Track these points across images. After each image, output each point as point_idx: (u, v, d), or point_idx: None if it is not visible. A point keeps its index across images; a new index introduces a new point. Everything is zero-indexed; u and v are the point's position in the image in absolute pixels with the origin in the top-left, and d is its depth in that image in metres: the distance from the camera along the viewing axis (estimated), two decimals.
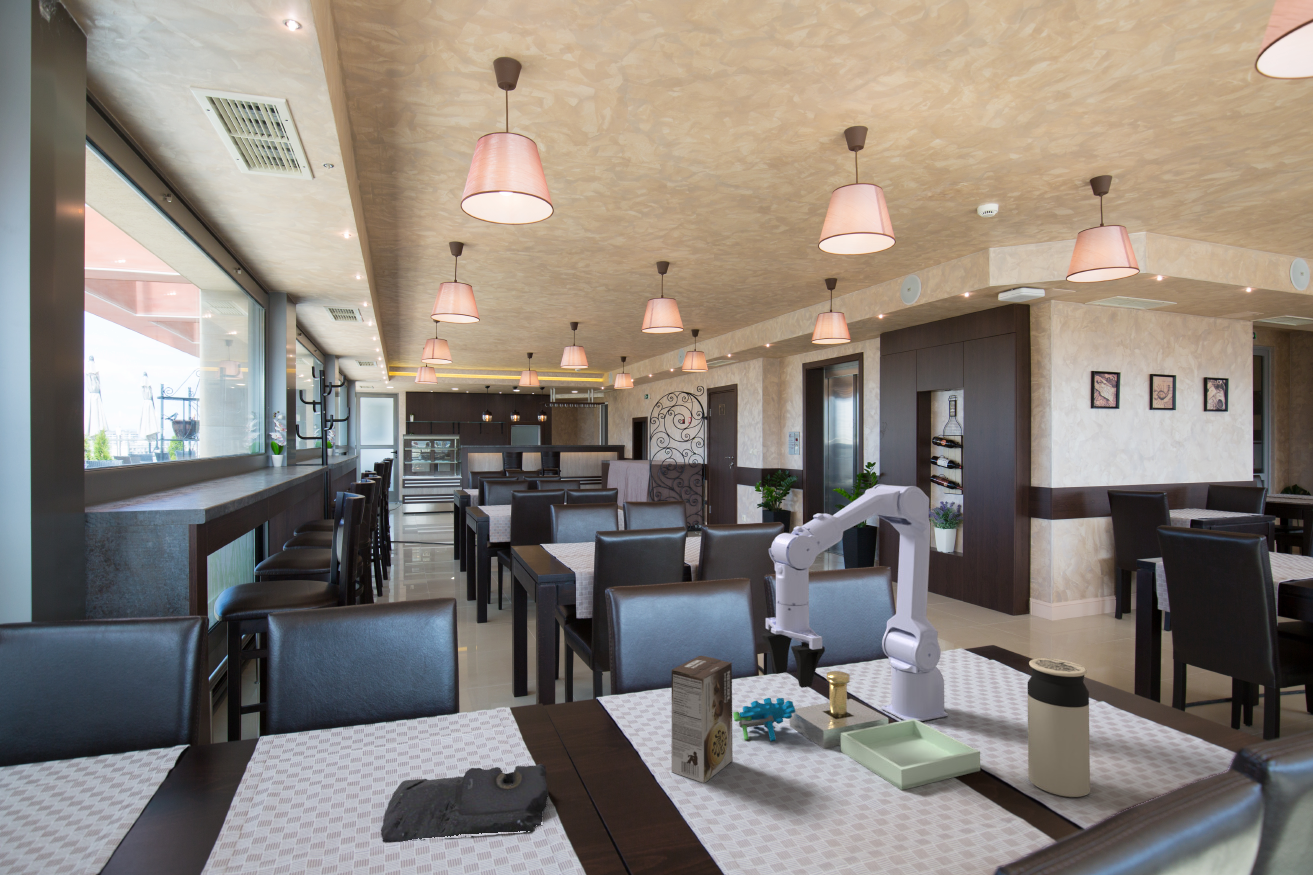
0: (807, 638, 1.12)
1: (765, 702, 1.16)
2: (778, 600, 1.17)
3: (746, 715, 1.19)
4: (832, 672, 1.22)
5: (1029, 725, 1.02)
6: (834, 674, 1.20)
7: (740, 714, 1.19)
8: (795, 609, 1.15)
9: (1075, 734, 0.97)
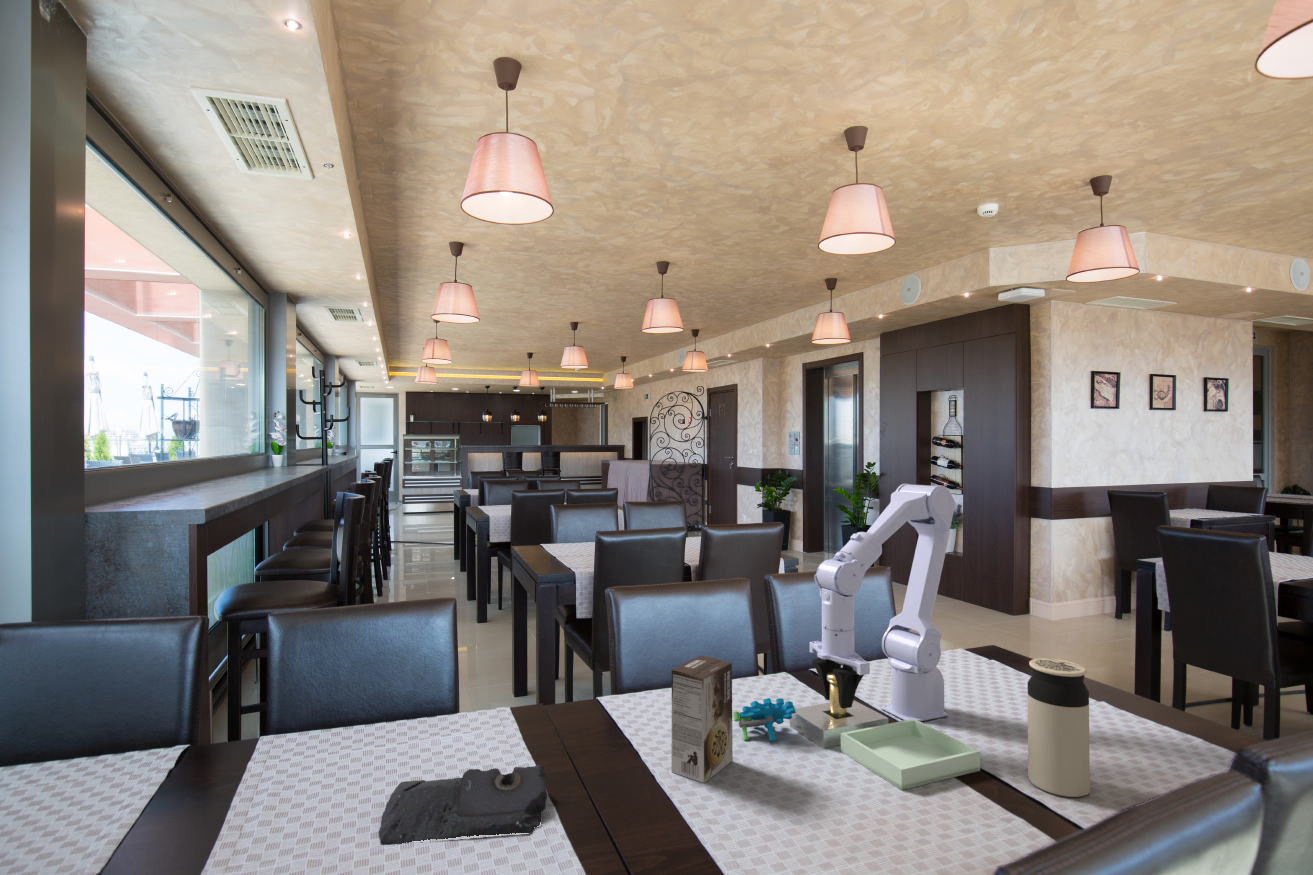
0: (855, 664, 1.15)
1: (765, 702, 1.15)
2: (825, 626, 1.20)
3: (746, 715, 1.18)
4: (832, 672, 1.22)
5: (1029, 725, 1.02)
6: None
7: (740, 714, 1.19)
8: (842, 635, 1.18)
9: (1075, 734, 0.97)
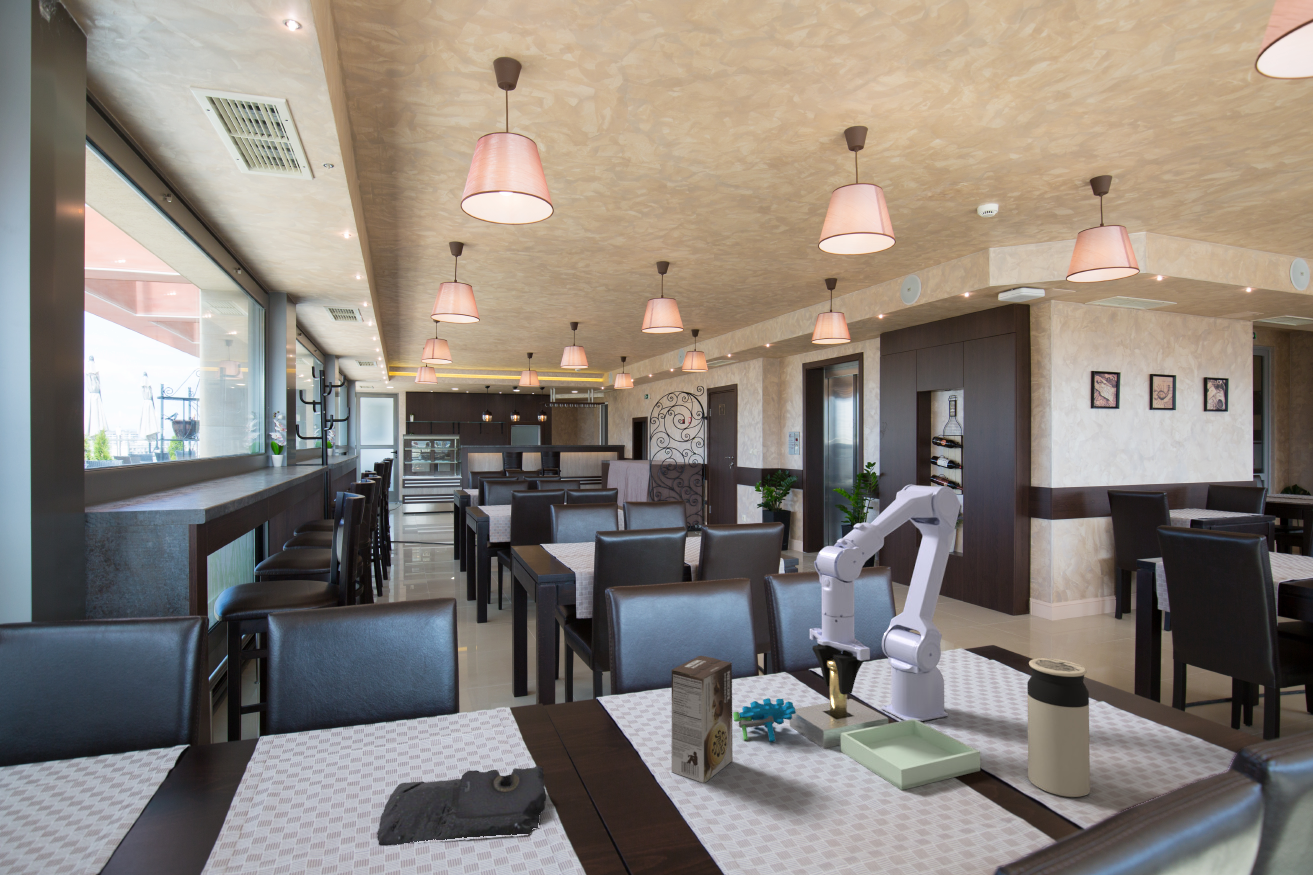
0: (855, 649, 1.15)
1: (764, 702, 1.15)
2: (825, 612, 1.20)
3: (746, 715, 1.18)
4: (832, 658, 1.22)
5: (1029, 725, 1.02)
6: None
7: (740, 714, 1.19)
8: (842, 621, 1.18)
9: (1074, 734, 0.97)
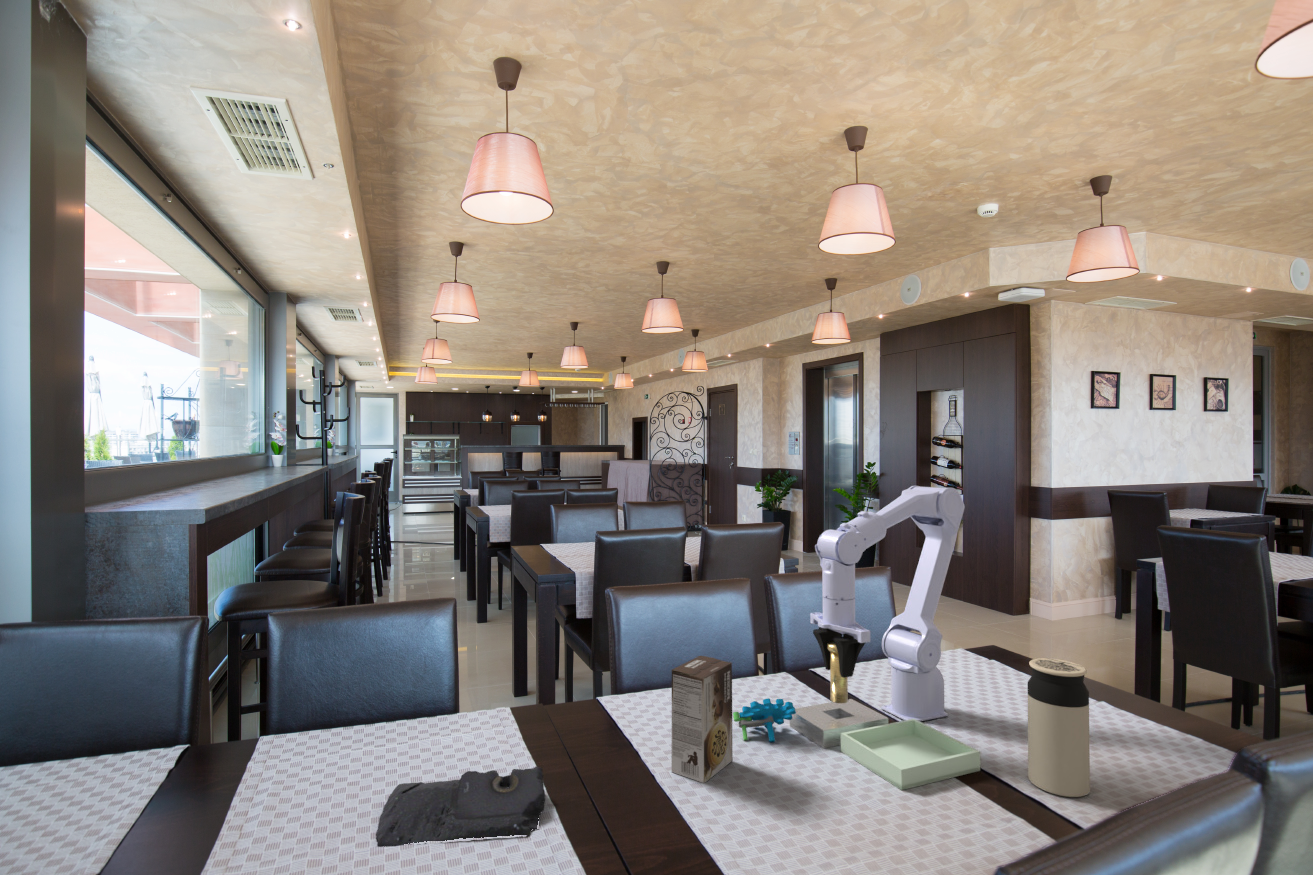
0: (855, 632, 1.15)
1: (764, 703, 1.15)
2: (826, 595, 1.20)
3: (746, 715, 1.18)
4: (833, 642, 1.22)
5: (1029, 725, 1.02)
6: None
7: (740, 714, 1.19)
8: (842, 604, 1.18)
9: (1075, 734, 0.97)
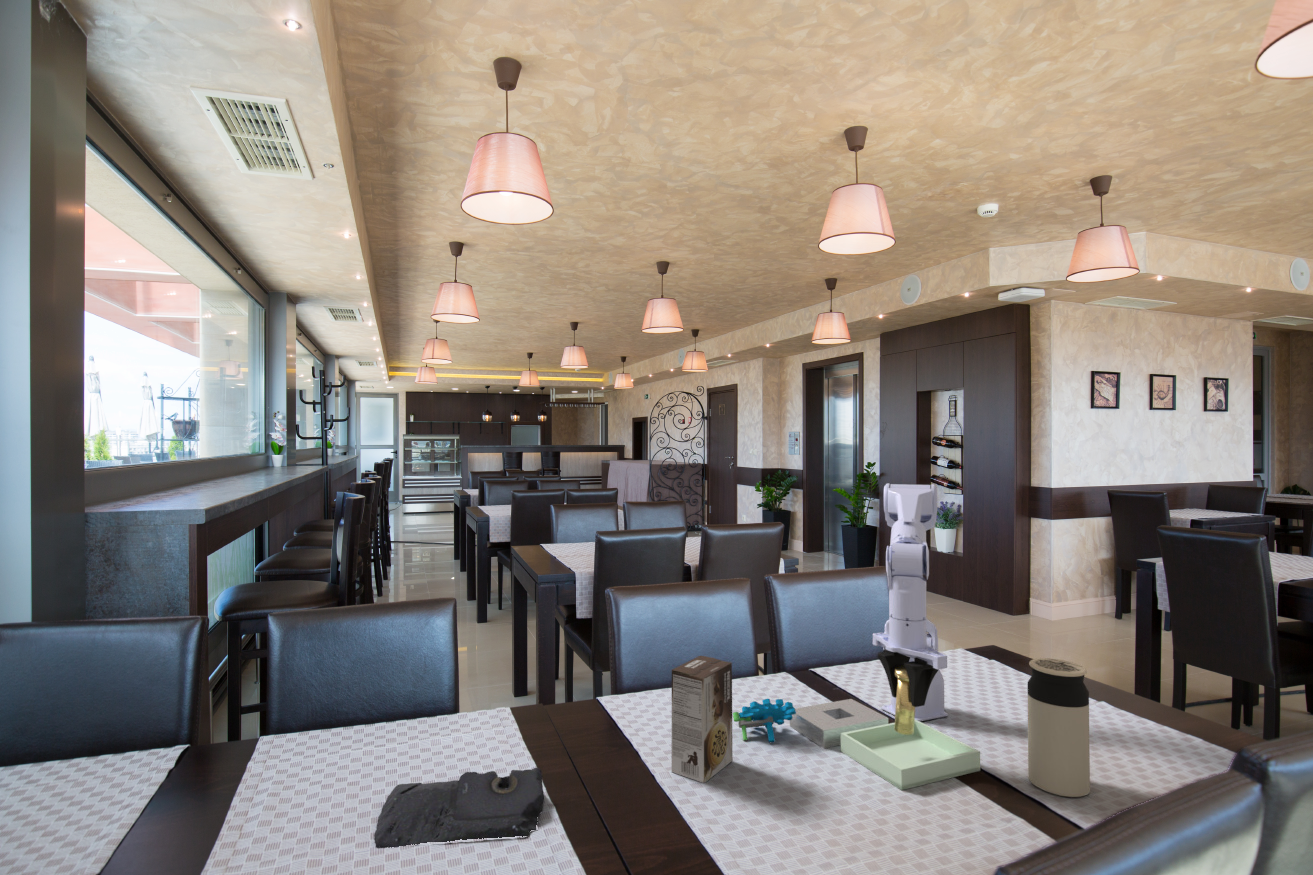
0: (930, 657, 1.03)
1: (764, 703, 1.15)
2: (906, 617, 1.07)
3: (746, 715, 1.18)
4: (900, 667, 1.10)
5: (1029, 725, 1.02)
6: (904, 670, 1.09)
7: (740, 714, 1.19)
8: (914, 625, 1.06)
9: (1075, 734, 0.97)
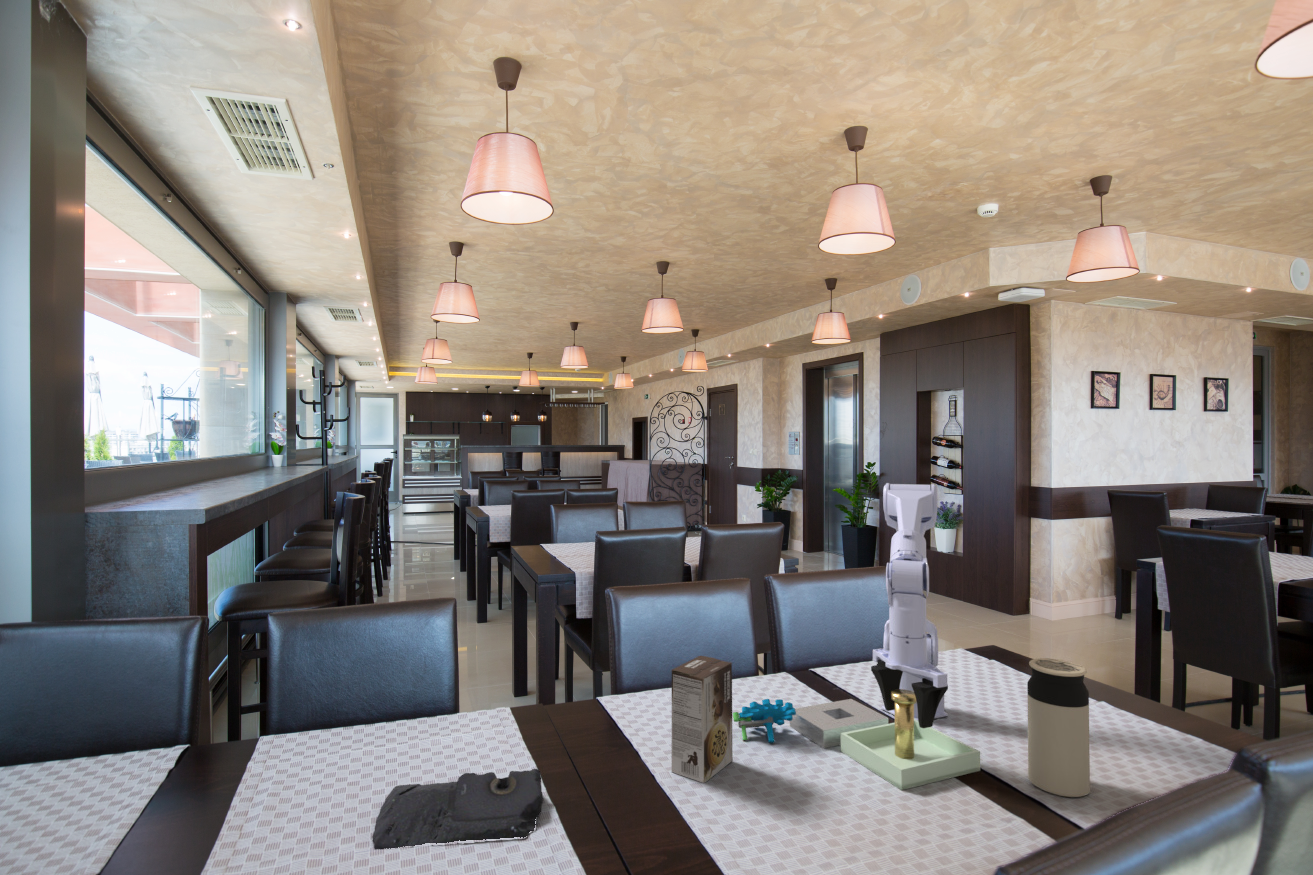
0: (930, 675, 1.03)
1: (763, 703, 1.15)
2: (906, 635, 1.06)
3: (745, 716, 1.18)
4: (897, 690, 1.11)
5: (1029, 725, 1.02)
6: (900, 693, 1.09)
7: (740, 714, 1.19)
8: (914, 642, 1.06)
9: (1074, 734, 0.97)
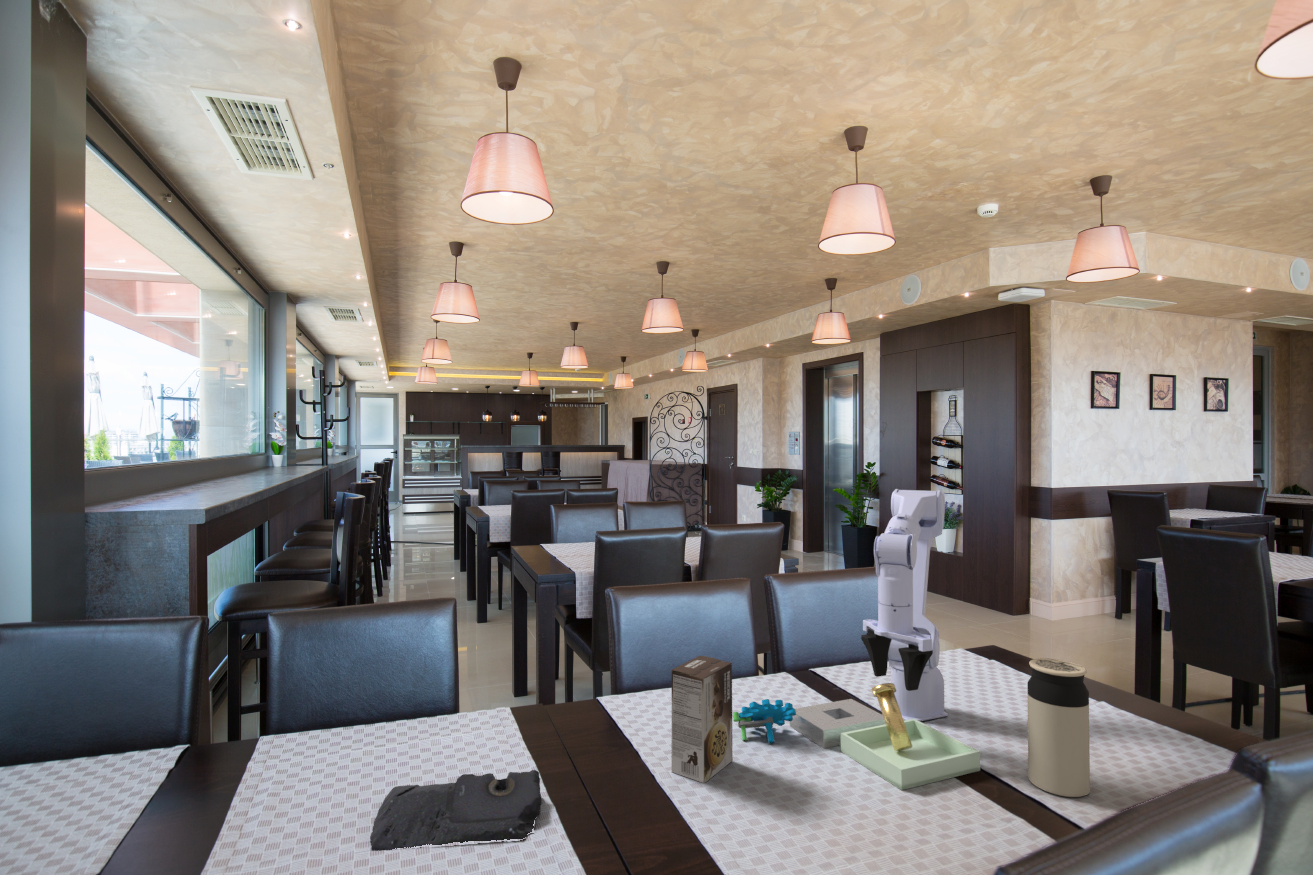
0: (916, 640, 1.10)
1: (763, 703, 1.15)
2: (891, 603, 1.13)
3: (745, 716, 1.18)
4: None
5: (1029, 725, 1.02)
6: None
7: (739, 714, 1.18)
8: (901, 610, 1.13)
9: (1075, 734, 0.97)
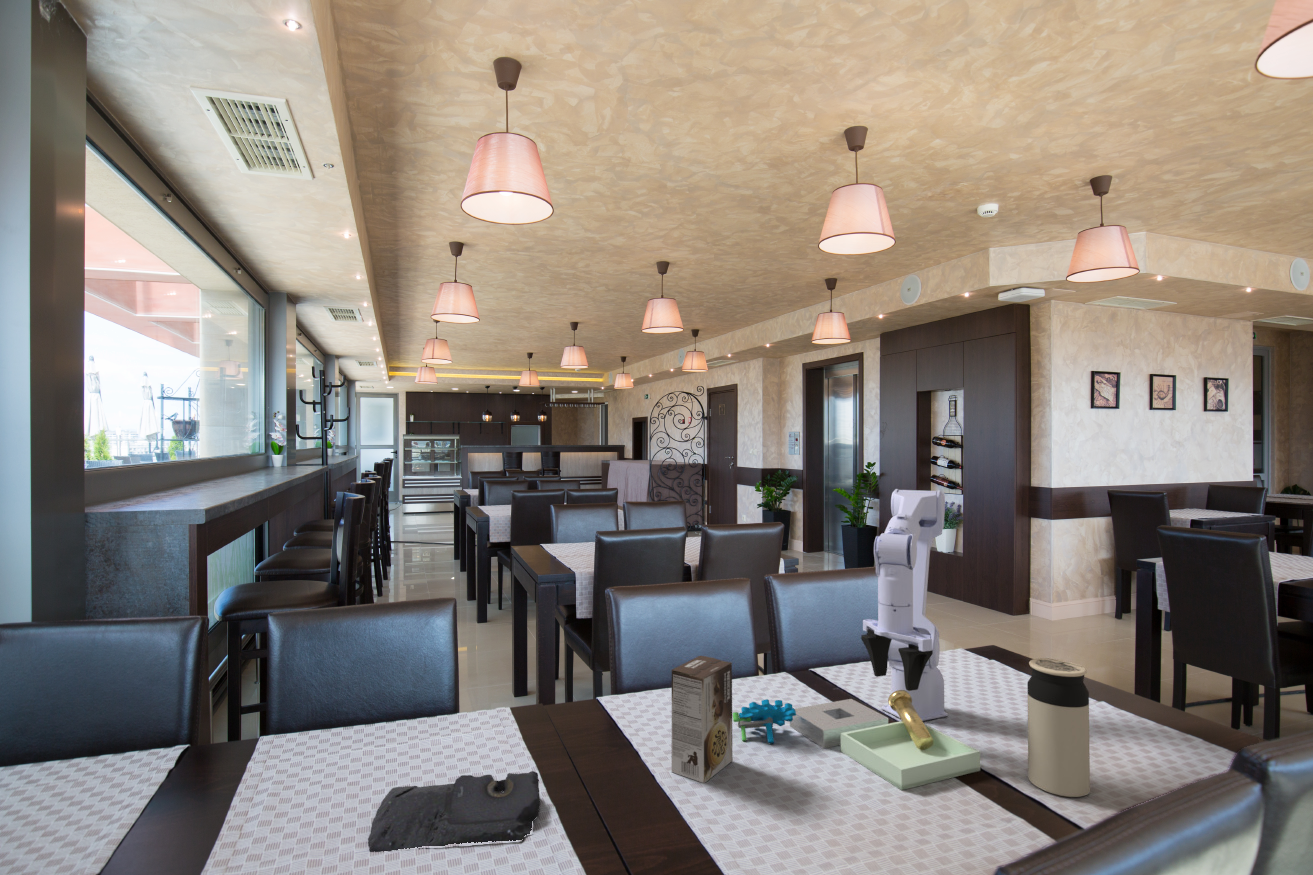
0: (916, 640, 1.10)
1: (763, 704, 1.15)
2: (891, 603, 1.13)
3: (745, 716, 1.18)
4: None
5: (1029, 725, 1.02)
6: None
7: (739, 715, 1.18)
8: (901, 610, 1.13)
9: (1075, 734, 0.97)
